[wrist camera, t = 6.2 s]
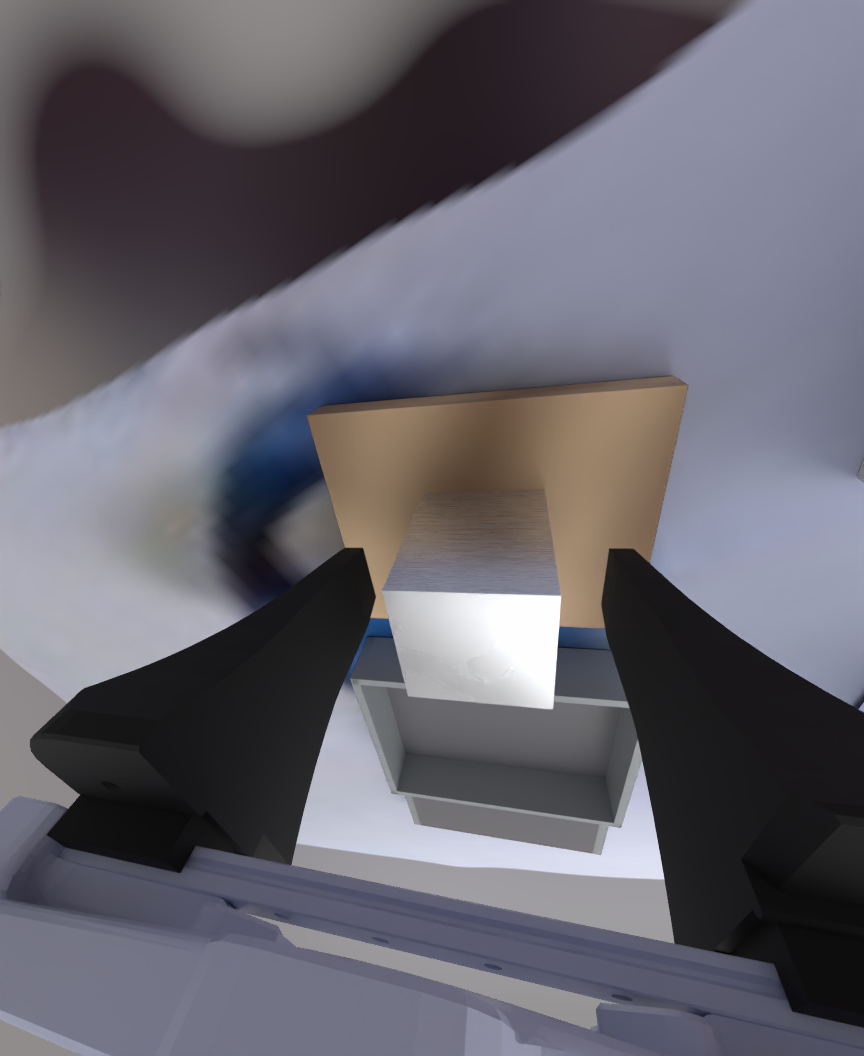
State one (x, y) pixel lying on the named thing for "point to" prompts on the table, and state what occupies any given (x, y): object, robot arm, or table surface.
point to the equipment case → (507, 752)
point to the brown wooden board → (509, 469)
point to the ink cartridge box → (861, 472)
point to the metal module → (477, 599)
